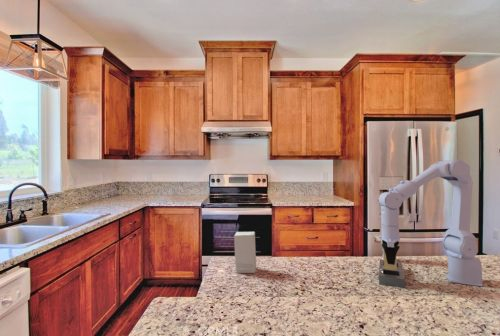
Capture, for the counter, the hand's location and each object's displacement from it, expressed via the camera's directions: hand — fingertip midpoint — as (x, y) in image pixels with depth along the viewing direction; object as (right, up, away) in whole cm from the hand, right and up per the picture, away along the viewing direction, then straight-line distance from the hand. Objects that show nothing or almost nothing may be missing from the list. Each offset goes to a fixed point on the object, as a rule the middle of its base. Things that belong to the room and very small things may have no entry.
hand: (390, 262), depth 98 cm
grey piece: (+2, -7, +4) cm, 8 cm away
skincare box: (-53, -8, +12) cm, 56 cm away
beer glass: (+11, -7, +23) cm, 27 cm away
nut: (0, -2, 0) cm, 2 cm away
